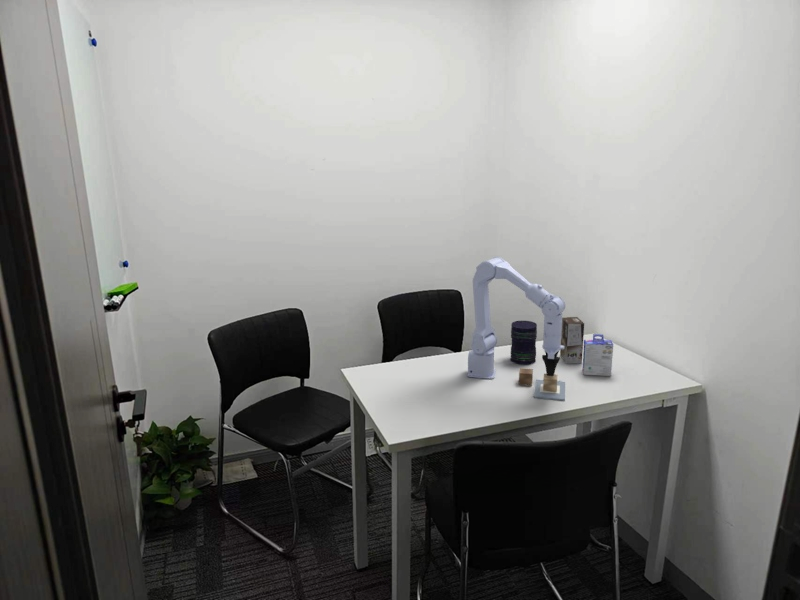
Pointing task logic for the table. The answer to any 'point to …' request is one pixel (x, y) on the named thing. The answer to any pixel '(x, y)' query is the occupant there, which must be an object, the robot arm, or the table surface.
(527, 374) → the walnut cube
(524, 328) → the storage jar
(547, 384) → the oak cube
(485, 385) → the table surface
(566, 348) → the coffee box
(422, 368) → the table surface
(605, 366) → the ink cartridge box
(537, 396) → the board
